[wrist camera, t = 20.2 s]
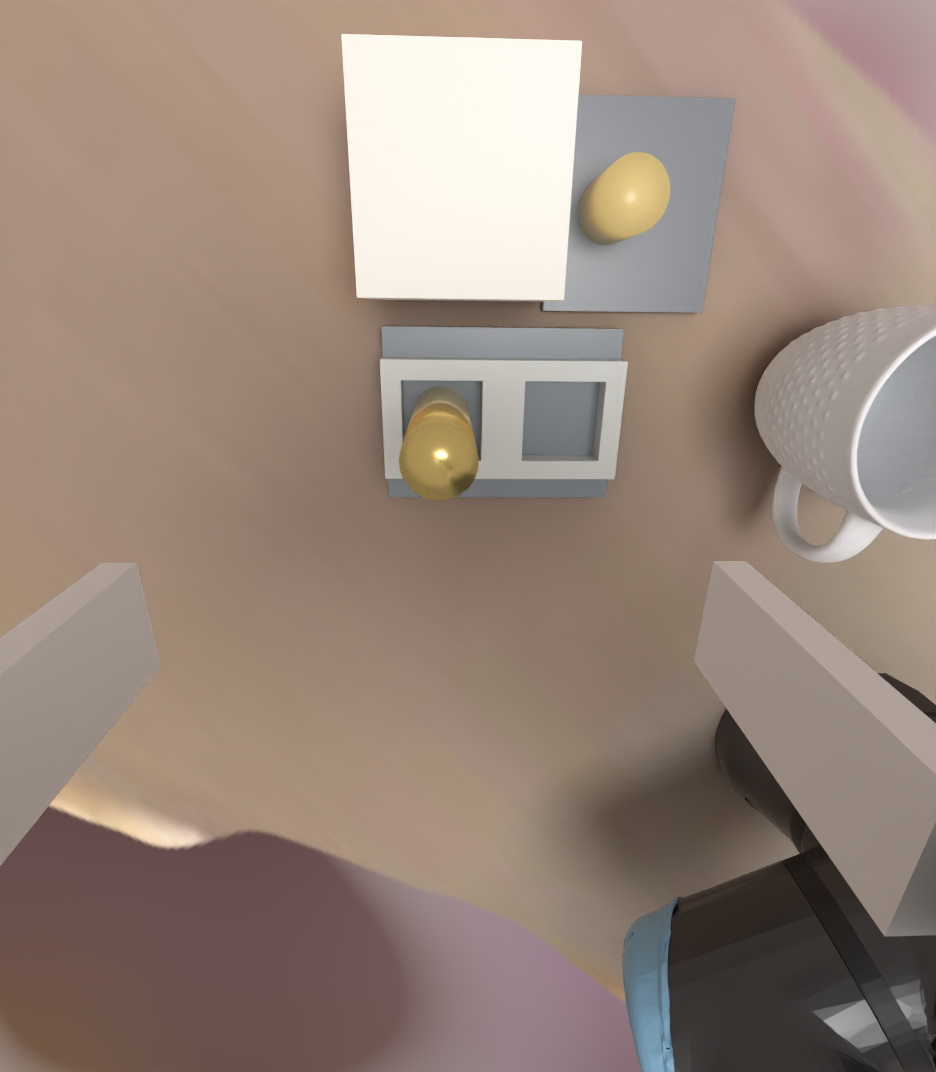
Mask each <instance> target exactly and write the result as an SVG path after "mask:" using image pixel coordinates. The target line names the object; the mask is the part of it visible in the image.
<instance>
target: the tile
mask: <svg viewBox="0 0 936 1072" xmlns="http://www.w3.org/2000/svg"><path fill="white" fill-rule="evenodd" d="M734 105H735V99H733V98H693V97H654V96H614V95H578V108H577V122H576V136H575V151H574V165H573V179H572V193H571V208H570V222H569V236H568V250H567V265H566V279H565V293H564V300H560V301H544V302H542V308H541V311H610V312H692V313H702V309H703V302H704V296H705V290H706V283H707V277H708V270H709V264H710V258H711V251H712V245H713V239H714V232H715V226H716V219H717V213H718V207H719V200H720V194H721V188H722V181H723V175H724V169H725V162H726V156H727V149H728V143H729V137H730V130H731V124H732V118H733V111H734Z"/></svg>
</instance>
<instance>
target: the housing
mask: <svg viewBox="0 0 936 1072" xmlns="http://www.w3.org/2000/svg"><path fill="white" fill-rule="evenodd" d="M341 35H342V53H343V70H344V87H345V104H346V121H347V138H348V155H349V172H350V189H351V206H352V223H353V240H354V257H355V274H356V291H357V298H365V299H374V300H424V301H503V302H544V301H560V300H564V293H565V279H566V265H567V250H568V236H569V222H570V208H571V193H572V179H573V165H574V151H575V136H576V122H577V108H578V94H579V79H580V65H581V51H582V41H569V40H534V39H499V38H464V37H429V36H393V35H358V34H341Z"/></svg>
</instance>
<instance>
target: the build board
mask: <svg viewBox="0 0 936 1072" xmlns="http://www.w3.org/2000/svg"><path fill="white" fill-rule="evenodd" d="M381 330H382V353H383V357H382V358H381V359H380V375H381V397H382V418H383V440H384V462H385V479H388V488H389V497H422V496H420V495H418V494H417V493H415V492H414V491H413V490H411V489H410V488H409V486H408V485H407V484H406V483H405V481H404V479H403V477H402V475H401V472H400V468H399V455H400V451H401V447H402V444H403V441H404V438H405V435H406V432H407V429H408V425H409V422H410V419H411V416H412V413H413V410H414V407H415V403H416V401H417V399H418V398H419V397H420V395H421V394H422V393H423V392H425V391H426V390H428V389H430V388H433V387H437V386H445V387H449V388H452V389H454V390H456V391H457V392H459V393H460V394H461V395H462V396H463V398H464V399H465V401H466V403H467V406H468V409H469V414H470V419H471V424H472V429H473V433H474V438H475V443H476V448H477V453H478V460H479V464H478V471H477V474H476V477H475V479H474V481H473V483H472V484H471V485H470V487H469V488H468V489H467V490H466V491H464V492H463V493H462V494H460V495H459V496H456V497H505V498H605V497H606V488H607V479H615V472H616V463H617V454H618V445H619V437H620V428H621V419H622V410H623V402H624V393H625V384H626V375H627V367H628V361H624V360H621V351H622V342H623V333H624V329H619V328H546V327H456V326H381Z"/></svg>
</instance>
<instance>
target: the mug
mask: <svg viewBox="0 0 936 1072" xmlns="http://www.w3.org/2000/svg"><path fill="white" fill-rule="evenodd" d="M754 408H755V413H754V416H755V418H756V426H757V428H758V430H759V432H760V437H761V438H762V439H763V441H764V444H765V446H766V447H767V448H768V449H769V451H770V453H771V454H772V455H773V456H774V457H775V458H776V460H777V462H778V463H779V464H780V465H782V466H781V469H780V472H779V476H778V479H777V483H776V486H775V490H774V496H773V504H772V518H773V524H774V529H775V532H776V534H777V536H778V538H779V539H780V541H781V542H782V544H783V545H784V546H785V547H786V548H787V549H788V550H790V551H791V552H792V553H794V554H795V555H797V556H799V557H802V558H804V559H807V560H811V561H815V562H822V563H831V562H838V561H843V560H846V559H848V558H850V557H852V556H854V555H856V554H857V553H859V552H860V551H862V550H863V549H864V548H865V547H867V546H868V545H869V544H870V543H871V542H872V541H873V540H874V539H875V537H876V536H877V535H878V534H879V532H880V531H881V530H882V528H884V529H886V530H889V531H891V532H894V533H896V534H899V535H902V536H906V537H910V538H917V539H929V540H930V539H936V305H929V306H926V305H914V306H909V307H903V306H897V307H893V308H887V309H885V308H877V309H875V310H872V311H868V312H858V313H855V314H854V315H851V316H844V317H842V318H840V319H838V320H835V321H830V322H828V323H827V324H825V325H823V326H819V327H815V328H814V329H812V330H811V331H810V332H808V333H805V334H802V335H801V336H800V337H799V338H798V339H796V340H793V341H791V342H790V343H789V345H788V346H786V347H785V348H784V349H783V350H781V351H780V352H779V353H778V355H777V356H776V357H775V358H774V359H773V360H772V361H771V363H770V364H769V365H768V367H767V368H766V370H765V371H764V373H763V375H762V377H761V379H760V382H759V384H758V387H757V391H756V396H755V405H754ZM802 484H804V485H805V486H806V487H807V488H808V489H810V490H812V491H814V492H816V493H817V494H818V495H819V496H820V497H823V498H825V499H827V500H829V501H830V502H832V503H833V504H835V505H837V506H840V507H842V508H844V509H846V510H847V513H846V515H845V516H844V519H843V521H842V524H841V526H840V528H839V530H838V532H837V533H836V534H835V536H834V537H833V538H832V539H831V540H830V541H829V542H828V543H826V544H824V545H821V546H812V545H811V544H809V543H808V542H807V541H806V540H805V539H804V537H803V536H802V534H801V532H800V529H799V525H798V518H797V505H798V497H799V492H800V488H801V486H802Z"/></svg>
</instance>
